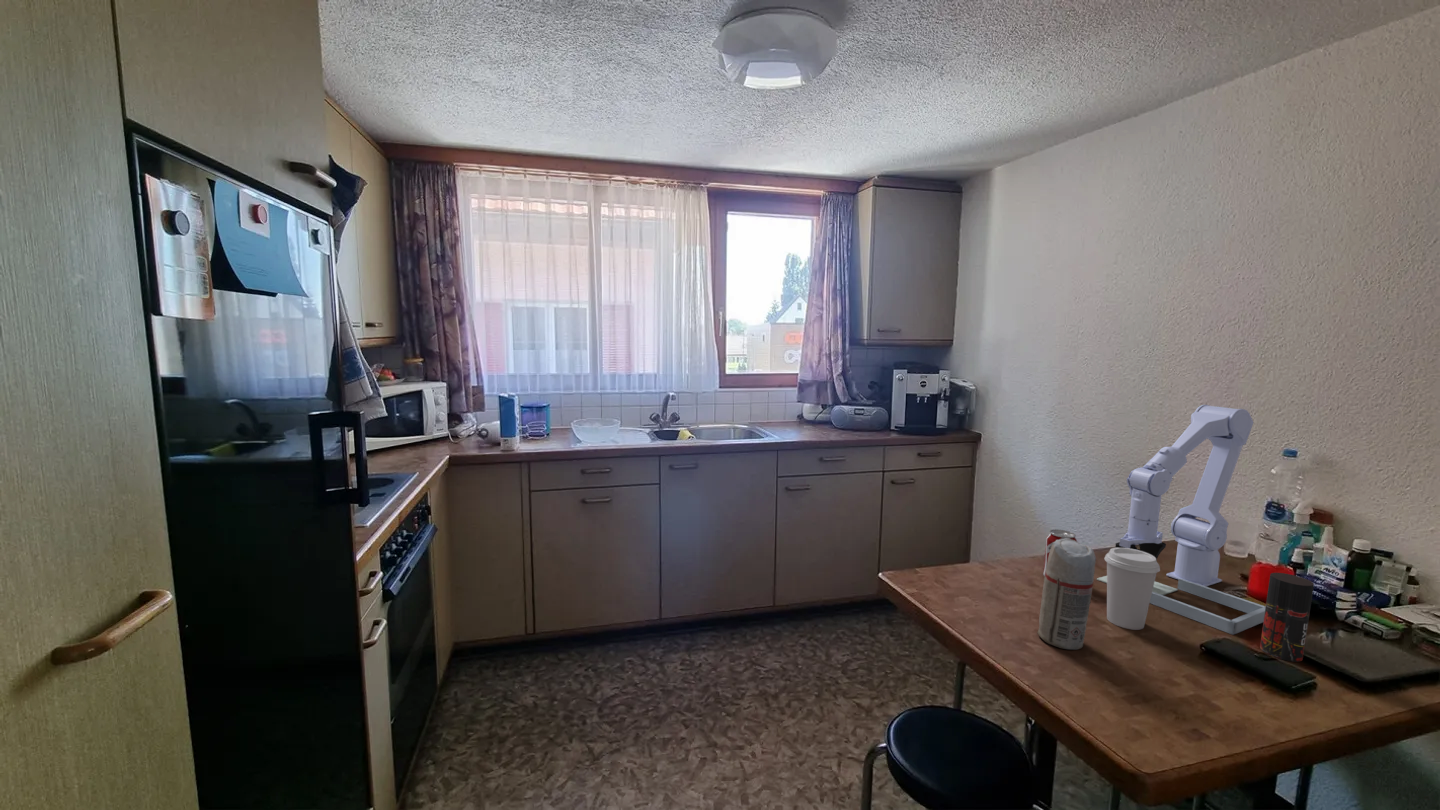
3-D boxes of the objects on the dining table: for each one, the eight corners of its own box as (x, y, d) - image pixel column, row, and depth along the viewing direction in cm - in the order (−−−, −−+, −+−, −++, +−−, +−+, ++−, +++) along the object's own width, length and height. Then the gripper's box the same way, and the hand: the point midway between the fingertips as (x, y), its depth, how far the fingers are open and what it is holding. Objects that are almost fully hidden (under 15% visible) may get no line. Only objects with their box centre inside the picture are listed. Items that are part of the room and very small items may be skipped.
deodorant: (1260, 641, 116) (1271, 570, 114) (1302, 653, 112) (1314, 579, 110) (1259, 652, 112) (1269, 578, 110) (1302, 665, 107) (1314, 588, 106)
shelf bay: (1179, 588, 140) (1180, 578, 140) (1269, 619, 125) (1271, 608, 125) (1142, 600, 133) (1143, 589, 133) (1232, 634, 118) (1234, 623, 118)
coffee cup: (1146, 617, 125) (1154, 550, 123) (1158, 637, 116) (1167, 566, 115) (1095, 607, 129) (1101, 543, 127) (1102, 627, 120) (1109, 557, 119)
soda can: (1065, 574, 147) (1070, 529, 146) (1079, 586, 140) (1084, 538, 139) (1038, 573, 148) (1042, 527, 146) (1050, 584, 141) (1054, 537, 140)
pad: (1124, 571, 150) (1124, 570, 150) (1177, 590, 139) (1177, 589, 139) (1096, 579, 144) (1096, 578, 144) (1149, 599, 134) (1149, 598, 134)
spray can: (1080, 634, 117) (1089, 539, 115) (1091, 655, 109) (1101, 553, 107) (1033, 626, 120) (1042, 533, 118) (1041, 646, 112) (1050, 547, 110)
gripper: (1145, 526, 133) (1138, 583, 135) (1179, 519, 139) (1172, 572, 141) (1112, 517, 139) (1107, 571, 141) (1146, 510, 146) (1141, 562, 147)
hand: (1137, 571), depth 141 cm, fingers open, 7 cm apart
